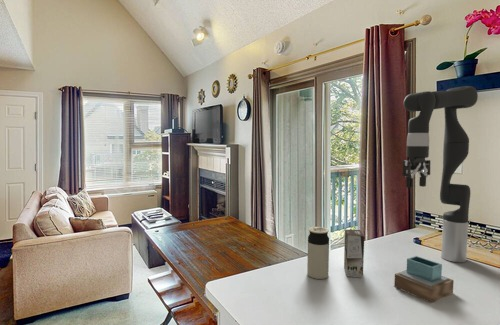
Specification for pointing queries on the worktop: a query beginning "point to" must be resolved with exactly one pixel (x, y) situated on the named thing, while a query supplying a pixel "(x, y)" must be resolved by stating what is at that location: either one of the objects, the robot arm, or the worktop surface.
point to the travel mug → (318, 253)
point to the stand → (424, 286)
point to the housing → (424, 268)
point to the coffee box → (354, 253)
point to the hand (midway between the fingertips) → (416, 187)
